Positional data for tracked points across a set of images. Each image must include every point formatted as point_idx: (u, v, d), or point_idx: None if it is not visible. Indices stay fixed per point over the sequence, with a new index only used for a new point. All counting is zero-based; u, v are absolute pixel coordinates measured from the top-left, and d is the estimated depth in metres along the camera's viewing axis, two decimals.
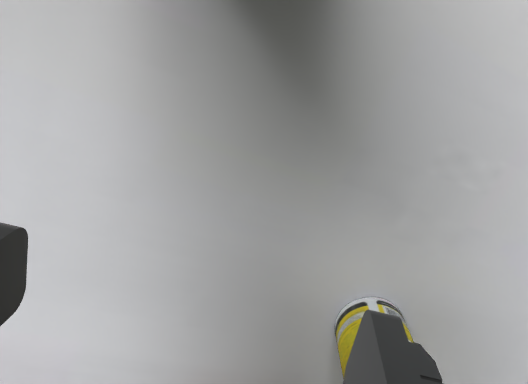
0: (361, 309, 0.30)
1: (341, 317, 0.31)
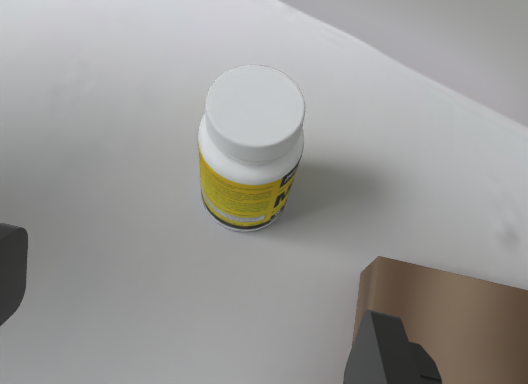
0: (201, 190, 0.24)
1: (216, 217, 0.24)
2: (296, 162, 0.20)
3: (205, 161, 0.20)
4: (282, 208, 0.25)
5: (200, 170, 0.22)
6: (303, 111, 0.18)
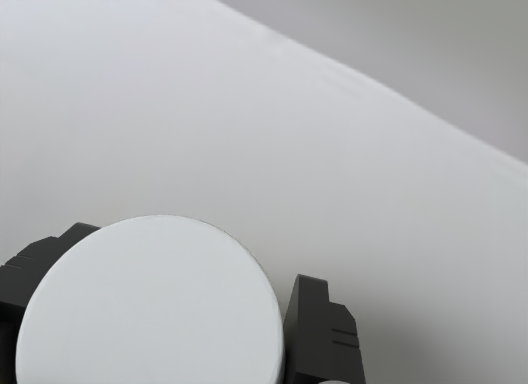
0: None
1: None
2: None
3: None
4: None
5: None
6: (278, 354, 0.07)
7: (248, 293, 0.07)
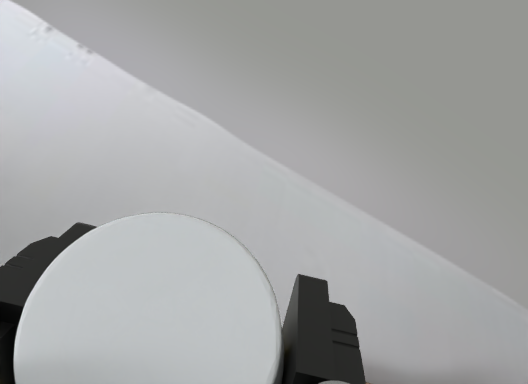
0: None
1: None
2: None
3: None
4: None
5: None
6: (276, 352, 0.07)
7: (246, 291, 0.07)
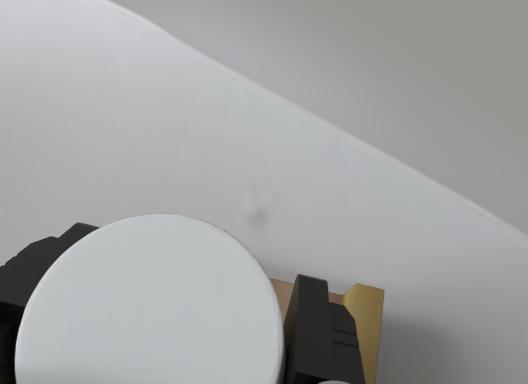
0: None
1: None
2: None
3: None
4: None
5: None
6: (278, 354, 0.07)
7: (248, 292, 0.07)
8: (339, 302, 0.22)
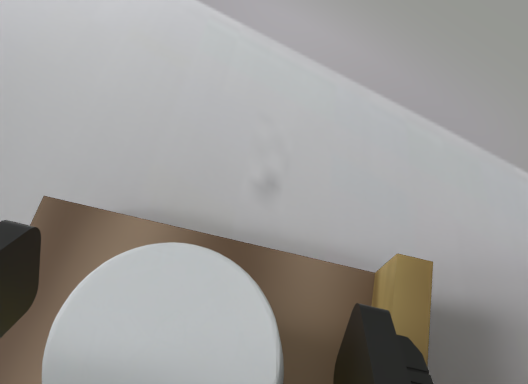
0: None
1: None
2: None
3: None
4: None
5: None
6: (276, 371, 0.08)
7: (249, 315, 0.08)
8: (371, 281, 0.17)
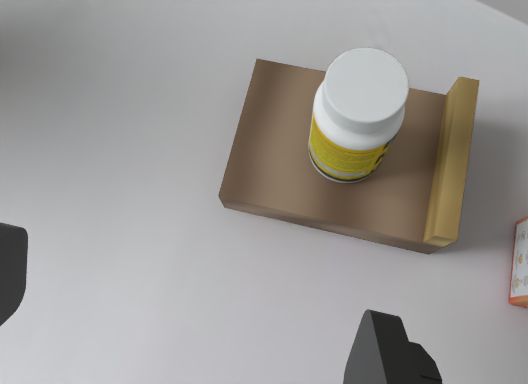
0: (310, 148, 0.28)
1: (322, 171, 0.29)
2: (398, 129, 0.24)
3: (320, 130, 0.24)
4: None
5: (311, 134, 0.27)
6: (407, 89, 0.22)
7: (396, 71, 0.22)
8: (443, 99, 0.30)
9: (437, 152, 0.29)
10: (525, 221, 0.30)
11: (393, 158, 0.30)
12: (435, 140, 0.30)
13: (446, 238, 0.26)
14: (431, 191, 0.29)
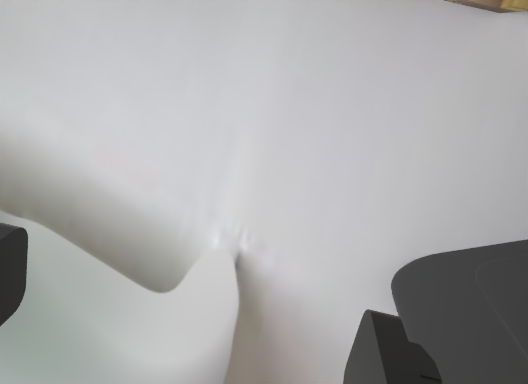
0: None
1: None
2: None
3: None
4: None
5: None
6: None
7: None
8: None
9: None
10: None
11: None
12: None
13: (522, 8, 0.32)
14: None
